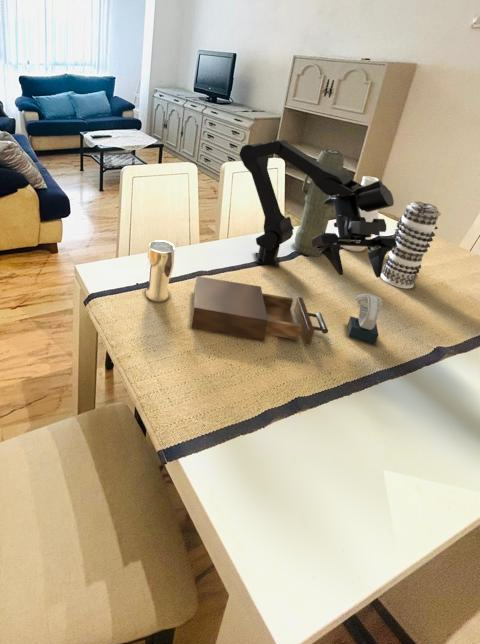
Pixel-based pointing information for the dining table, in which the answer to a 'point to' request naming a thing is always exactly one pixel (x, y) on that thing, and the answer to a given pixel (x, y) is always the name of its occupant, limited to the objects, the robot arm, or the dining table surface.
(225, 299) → the cabinet
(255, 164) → the robot arm
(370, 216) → the bottle
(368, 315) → the watch
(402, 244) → the white and black cylinder
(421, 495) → the dining table surface
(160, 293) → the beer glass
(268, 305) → the drawer
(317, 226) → the thermos
